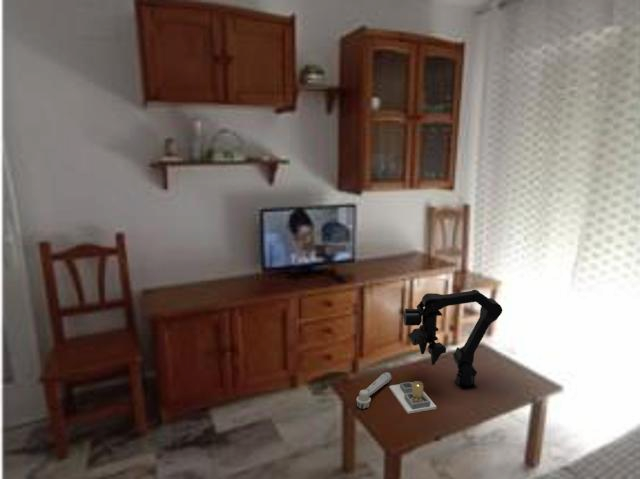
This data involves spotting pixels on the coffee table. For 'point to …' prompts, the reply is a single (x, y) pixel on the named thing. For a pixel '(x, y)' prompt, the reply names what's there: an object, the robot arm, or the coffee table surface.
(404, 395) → the white socket board
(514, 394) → the coffee table surface
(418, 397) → the gold metallic cylinder
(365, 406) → the white handheld shower head
